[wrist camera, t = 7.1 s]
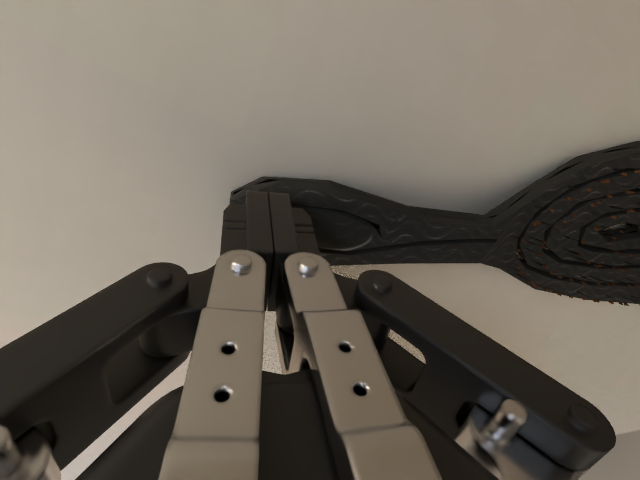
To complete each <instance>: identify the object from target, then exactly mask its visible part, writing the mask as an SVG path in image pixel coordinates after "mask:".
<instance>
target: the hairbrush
mask: <svg viewBox="0 0 640 480" xmlns="http://www.w3.org/2000/svg"><path fill="white" fill-rule="evenodd" d="M247 191H259V192H273V193H287V194H289V196H290V201H291V207H292V208H303V209H304V210H305V211H306V212H307V213H308V214H309V215H310V217H311V221H312V224H313V228H314V234H315V236H316V240H317V244H318V248H319V251H320V255H321V257H322V258H324V259H325V260H326V261H327V262H328V263H329V264H330V266H333V265H365V264H398V263H482V264H485V265H489V266H493V267H497V268H500V269H501V270H503V271H505V272H507V273H508V274H510V275H512V276H514V277H515V278H517V279H519V280H520V281H522V282H524V283H526V284H527V285H529V286H531V287H532V288H534V289H537V290H542V291H547V292H552V293H557V294H558V295H560V296H561V294H562V295H567V296H569V297H570V298H573V297H576V298H581V299H583V300H593V301H594V302H600V301H609V302H610V303H611V304H614V303H613V302H619V304H621V305H623V304H622V303H624V305H628V304H627V303H634V304H640V141H636V142H632V143H628V144H625V145H621V146H617V147H613V148H609V149H605V150H602V151H598V152H594V153H590V154H586V155H583V156H579V157H576V158H574V159H572V160H571V161H569V162H567V163H566V164H564V165H562V166H561V167H559V168H558V169H556V170H554V171H553V172H551V173H549V174H548V175H546V176H544V177H543V178H541V179H539V180H538V181H536V182H535V183H533V184H531V185H530V186H528V187H526V188H525V189H523V190H521V191H520V192H518V193H517V194H515V195H514V196H512V197H511V198H509V199H508V200H506V201H505V202H503V203H502V204H500V205H499V206H497V207H496V208H494V209H493V210H491V211H490V212H488V213H487V214H485V215H479V214H470V213H462V212H454V211H445V210H437V209H429V208H421V207H412V206H406V205H403V204H400V203H397V202H394V201H391V200H388V199H385V198H381V197H378V196H375V195H372V194H369V193H366V192H363V191H360V190H357V189H354V188H351V187H348V186H345V185H341V184H338V183H335V182H332V181H328V180H311V179H294V178H277V177H261V178H259V179H257V180H255V181H253V182H251V183H249V184H246V185H244V186H242V187H240V188H238V189H236V190H234V191H232V192H231V197H230V204H231V203H232V204H246V192H247ZM622 222H625V223H629V224H633V225H632V226H631V227H630V229H623V230H614V229H613V230H611V231H600V230H603V229H606V228H608V227H611V226H614V225H617V224H619V223H622ZM625 223H623V224H625ZM629 224H628V225H629ZM608 229H610V228H608ZM599 231H600V232H599ZM543 244H544V246H545V247H546V248H547V249H549V250H546V249H543V248H545V247H543ZM516 251H518V253H519V255H518V254H516ZM520 256H521V257H522V258H523V259H524V260H525V261H524V260H521V259H519V258H518V257H520ZM628 306H629V305H628Z"/></svg>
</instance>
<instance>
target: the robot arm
mask: <svg viewBox="0 0 640 480" xmlns="http://www.w3.org/2000/svg"><path fill="white" fill-rule="evenodd" d="M266 308H267V310H268V311H276V317H277V318H276V325H275V336H276V341H277V347H278V352H279V358H280V363H281V368H282V374H277V373H272V372H267V371H262V361H263V340H264V320H265V311H266ZM390 329H392V330H393V331H395V332H396V333H397V334H399V335H400V336H401V337H403V338H404V339H405V340H407V341H408V342H410V343H411V344H412V345H414V346H415V347H416V348H418V349H419V350H420V351H421V352H422V354H423V355H424V357H425V360H426V364H424V363H423V362H421V361H420V360H419V359H417V358H416V357H415V356H413V355H412V354H411V353H409V352H408V351H407V350H405V349H404V348H403V347H401V346H400V345H399V344H397V343H396V342H395V341H393V340H392V339H391V338H389V337H388V335H389V332H390ZM190 351H192V353H191V357H190V361H189V366H188V370H187V374H186V379H185V383H184V386H181V387H179V388H177V389H175V390H173V391H171V392H169V393H168V394H166V395H165V396H163V397H161V398H160V399H159V400H158V401H156V402H155V403H154V404H152V405H151V406H150V407H149V408H148V409H147V410H146V411H145V412H143V413H142V414H141V415H140V416H139V417H138V418H137V419H136V420H135V421H134V422H133V423H132V424H131V425H130V426H129V427H128V428H127V429H126V430H125V431H124V432H123V433H122V434H121V435H120V436H119V437H118V438H117V439H116V440H115V441H114V442H113V443H112V444H111V445H110V446H109V447H108V448H107V449H106V450H105V451H104V452H103V453H102V454H101V455H100V456H99V457H98V458H97V459H96V460H95V461H94V462H93V463H92V464H91V465H90V466H89V467H88V468H87V469H86V470H85V471H84V472H83V473H81V474H80V475H79V476H78V477H77V478H76V479H75V480H578V479H579V478H580V477H581V476H582V475H583V474H584V473H585V472H586V471H588V470H589V469H590V468H591V467H592V466H593V465H594V464H595V463H597V462H598V461H599V460H600V459H601V458H602V457H603V456H604V455H606V454H607V453H608V452H609V451H610V450H611V449H612V448H613V447H614V446H615V442H616V436H615V432H614V430H613V427H612V426H611V424H610V422H609V421H608V420H607V418H606V417H605V416H604V415H603V414H602V413H601V412H600V411H599V410H598V409H597V408H596V407H595V406H594V405H592V404H591V403H590V402H588V401H587V400H585V399H584V398H582V397H581V396H579V395H577V394H576V393H574V392H573V391H571V390H570V389H568V388H567V387H565V386H564V385H562V384H560V383H559V382H557V381H556V380H554V379H553V378H551V377H550V376H548V375H547V374H545V373H543V372H542V371H540V370H539V369H537V368H536V367H534V366H533V365H531V364H529V363H528V362H526V361H525V360H523V359H522V358H520V357H519V356H517V355H516V354H514V353H512V352H511V351H509V350H508V349H506V348H505V347H503V346H502V345H500V344H499V343H497V342H495V341H494V340H492V339H491V338H489V337H488V336H486V335H485V334H483V333H482V332H480V331H478V330H477V329H475V328H474V327H472V326H471V325H469V324H468V323H466V322H465V321H463V320H461V319H460V318H458V317H457V316H455V315H454V314H452V313H451V312H449V311H448V310H446V309H444V308H443V307H441V306H440V305H438V304H437V303H435V302H434V301H432V300H431V299H429V298H427V297H426V296H424V295H423V294H421V293H420V292H418V291H417V290H415V289H413V288H412V287H410V286H409V285H407V284H406V283H404V282H403V281H401V280H400V279H398V278H396V277H395V276H393V275H392V274H389V273H387V272H384V271H380V270H369V271H365V272H363V273H362V274H361V275H360V276H359V278H358V280H355V279H351V278H347V277H344V276H340V275H338V274H336V273H334V272H333V271H332V269H331V266H330V264H329V263H328V262H327V261H326V260H325V259H324V258H322V257H321V255H320V251H319V248H318V244H317V240H316V236H315V234H314V228H313V224H312V221H311V217H310V215H309V214H308V213H307V212H306V211H305V210H304V209H303V208H292V207H291V201H290V196H289V194H287V193H273V192H259V191H247V192H246V204H232V203H231V204H230V205H229V206H228V207H227V208H226V209H225V210H224V215H223V227H222V239H221V251H220V257H219V258H218V259H217V262H216V264H215V265H214V266H213V267H211V268H210V269H208V270H205V271H202V272H199V273H194V274H187V272H186V271H185V270H184V269H183V268H182V267H180V266H178V265H176V264H173V263H165V262H161V263H153V264H149V265H146V266H144V267H142V268H140V269H138V270H136V271H135V272H133V273H131V274H129V275H128V276H126V277H124V278H122V279H121V280H119V281H117V282H115V283H114V284H112V285H110V286H108V287H107V288H105V289H103V290H101V291H100V292H98V293H96V294H95V295H93V296H91V297H89V298H88V299H86V300H84V301H82V302H81V303H79V304H77V305H75V306H74V307H72V308H70V309H68V310H67V311H65V312H63V313H61V314H60V315H58V316H56V317H54V318H53V319H51V320H49V321H48V322H46V323H44V324H42V325H41V326H39V327H37V328H35V329H34V330H32V331H30V332H28V333H27V334H25V335H23V336H21V337H20V338H18V339H16V340H14V341H13V342H11V343H9V344H8V345H6V346H4V347H2V348H1V349H0V480H61V472H60V471H61V470H62V469H63V468H65V467H66V466H67V465H68V464H69V463H70V462H71V461H72V460H74V459H75V458H76V457H77V456H78V455H79V454H80V453H81V452H83V451H84V450H85V449H86V448H87V447H88V446H89V445H90V444H92V443H93V442H94V441H95V440H96V439H97V438H98V437H99V436H101V435H102V434H103V433H104V432H105V431H106V430H107V429H108V428H110V427H111V426H112V425H113V424H114V423H115V422H116V421H117V420H119V419H120V418H121V417H122V416H123V415H124V414H125V413H126V412H128V411H129V410H130V409H131V408H132V407H133V406H134V405H135V404H137V403H138V402H139V401H140V400H141V399H142V398H143V397H144V396H146V395H147V394H148V393H149V392H150V391H151V390H152V389H153V388H155V387H156V386H157V385H158V384H159V383H160V382H161V381H163V380H164V379H165V378H166V377H167V376H168V375H169V374H170V373H172V372H173V371H174V370H175V369H176V368H177V367H178V366H179V365H181V364H182V363H183V362H184V361H185V360H186V358H187V357H188V355H189V353H190Z"/></svg>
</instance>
